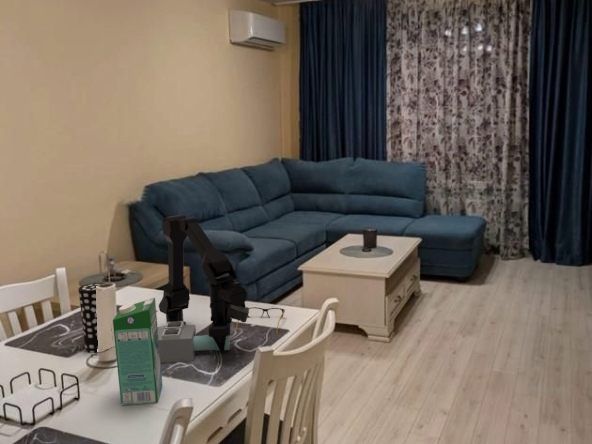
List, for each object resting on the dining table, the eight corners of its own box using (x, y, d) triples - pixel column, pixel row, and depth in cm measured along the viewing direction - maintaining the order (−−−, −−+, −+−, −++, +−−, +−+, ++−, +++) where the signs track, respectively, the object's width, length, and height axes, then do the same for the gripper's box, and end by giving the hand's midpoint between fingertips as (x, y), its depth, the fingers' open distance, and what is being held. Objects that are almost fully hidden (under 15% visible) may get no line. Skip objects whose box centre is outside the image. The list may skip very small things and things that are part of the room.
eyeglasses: (285, 318, 200) (285, 307, 199) (277, 334, 186) (276, 322, 185) (246, 317, 202) (245, 306, 201) (235, 333, 188) (234, 321, 187)
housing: (158, 348, 177) (155, 322, 175) (196, 345, 178) (195, 320, 176) (151, 363, 166) (149, 336, 164) (193, 360, 167) (191, 333, 165)
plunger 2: (167, 333, 169) (166, 328, 169) (178, 332, 169) (177, 328, 169) (165, 337, 166) (165, 332, 166) (176, 337, 166) (176, 332, 166)
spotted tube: (104, 353, 174) (97, 291, 170) (79, 352, 176) (72, 290, 172) (117, 343, 182) (111, 283, 178) (94, 341, 184) (88, 282, 180)
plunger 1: (170, 326, 175) (169, 321, 175) (180, 325, 175) (180, 320, 175) (168, 330, 172) (168, 325, 171) (179, 329, 172) (178, 324, 172)
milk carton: (128, 388, 151) (119, 299, 146) (162, 386, 152) (155, 297, 147) (121, 405, 142) (111, 311, 137) (157, 402, 143) (149, 308, 138)
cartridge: (161, 357, 169) (160, 340, 168) (164, 350, 174) (163, 334, 173) (229, 352, 170) (228, 336, 169) (229, 345, 175) (228, 330, 174)
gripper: (246, 307, 161) (248, 358, 164) (247, 287, 179) (249, 334, 182) (206, 309, 160) (210, 361, 163) (211, 289, 178) (214, 336, 181)
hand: (222, 347), depth 172 cm, fingers closed on cartridge, 5 cm apart
